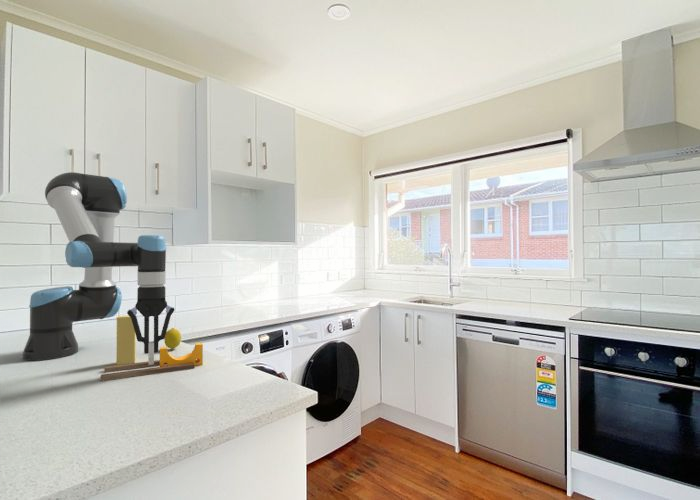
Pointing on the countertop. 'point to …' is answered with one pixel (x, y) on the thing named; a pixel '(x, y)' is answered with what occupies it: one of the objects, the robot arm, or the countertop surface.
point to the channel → (142, 371)
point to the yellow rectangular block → (125, 340)
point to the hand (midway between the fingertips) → (151, 363)
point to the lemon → (172, 338)
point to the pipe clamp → (188, 358)
